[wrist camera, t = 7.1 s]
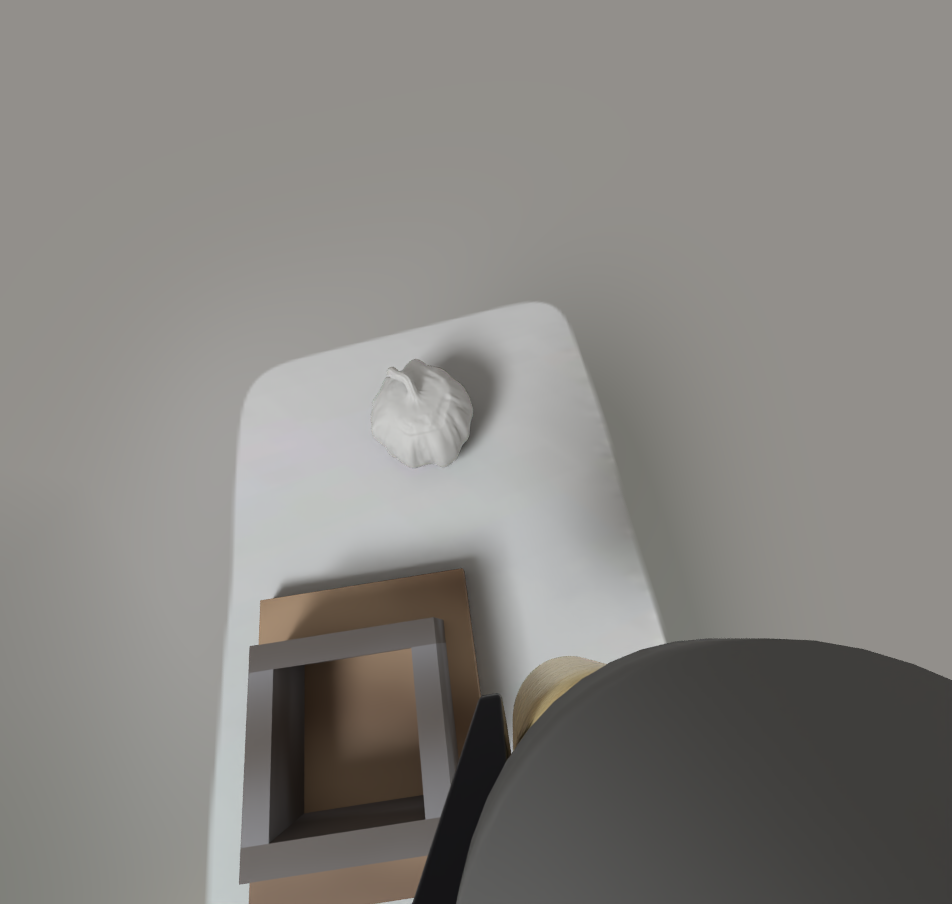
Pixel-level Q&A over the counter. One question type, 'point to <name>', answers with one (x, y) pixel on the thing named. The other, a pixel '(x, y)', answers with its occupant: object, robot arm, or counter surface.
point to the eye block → (354, 737)
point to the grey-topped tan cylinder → (722, 780)
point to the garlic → (421, 415)
